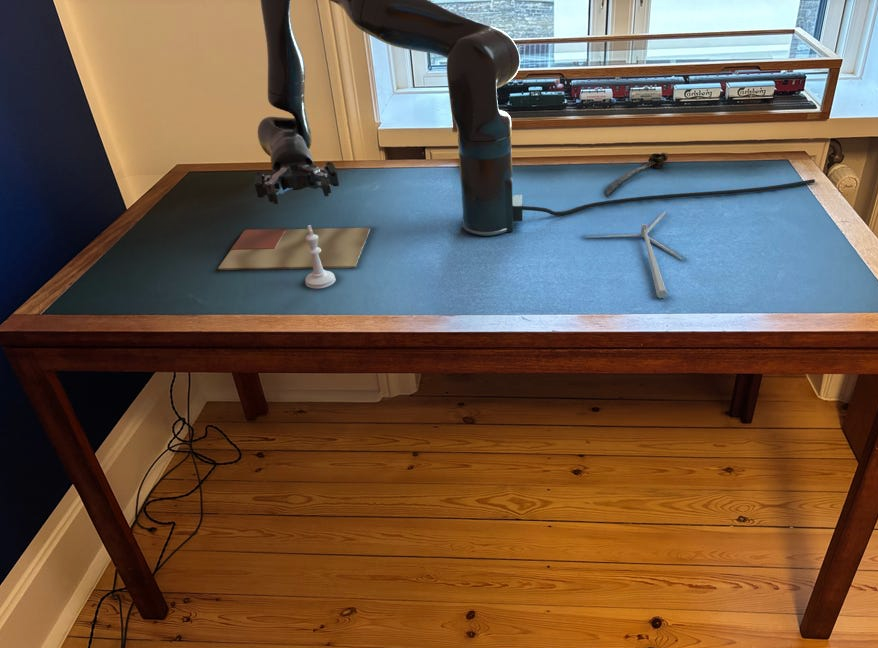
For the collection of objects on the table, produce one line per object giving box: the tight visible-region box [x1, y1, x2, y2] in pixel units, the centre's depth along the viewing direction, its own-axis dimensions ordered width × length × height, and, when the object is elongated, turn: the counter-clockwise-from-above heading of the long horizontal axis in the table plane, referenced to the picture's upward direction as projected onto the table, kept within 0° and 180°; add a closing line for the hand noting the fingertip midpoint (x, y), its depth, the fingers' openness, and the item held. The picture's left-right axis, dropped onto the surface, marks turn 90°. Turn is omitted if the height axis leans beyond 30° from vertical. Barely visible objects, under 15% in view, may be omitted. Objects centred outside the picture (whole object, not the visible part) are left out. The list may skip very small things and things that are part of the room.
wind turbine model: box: [584, 210, 683, 299], centre depth 122 cm, size 16×2×30 cm
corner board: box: [217, 227, 372, 271], centre depth 129 cm, size 24×15×1 cm, turn 87°
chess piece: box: [304, 224, 336, 290], centre depth 116 cm, size 5×5×10 cm
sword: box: [604, 151, 669, 197], centre depth 149 cm, size 25×4×2 cm, turn 137°
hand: (300, 194), depth 122 cm, fingers open, 8 cm apart
